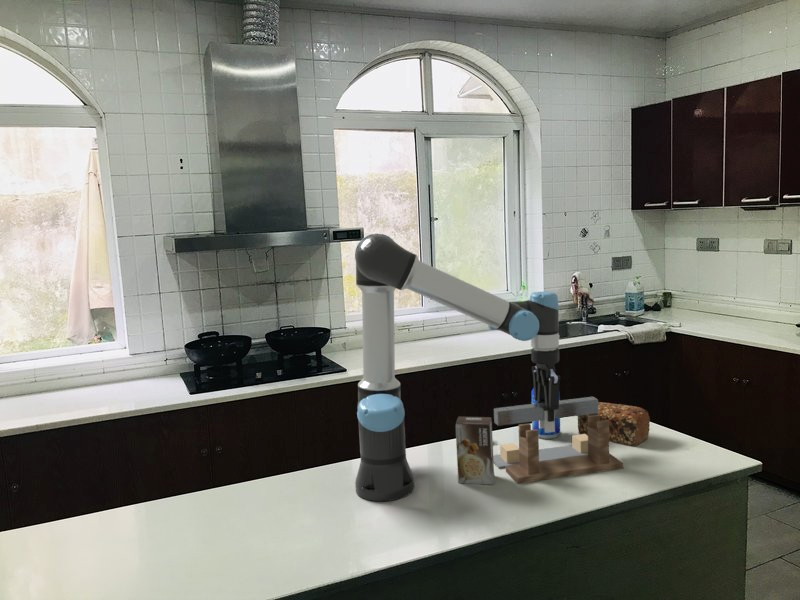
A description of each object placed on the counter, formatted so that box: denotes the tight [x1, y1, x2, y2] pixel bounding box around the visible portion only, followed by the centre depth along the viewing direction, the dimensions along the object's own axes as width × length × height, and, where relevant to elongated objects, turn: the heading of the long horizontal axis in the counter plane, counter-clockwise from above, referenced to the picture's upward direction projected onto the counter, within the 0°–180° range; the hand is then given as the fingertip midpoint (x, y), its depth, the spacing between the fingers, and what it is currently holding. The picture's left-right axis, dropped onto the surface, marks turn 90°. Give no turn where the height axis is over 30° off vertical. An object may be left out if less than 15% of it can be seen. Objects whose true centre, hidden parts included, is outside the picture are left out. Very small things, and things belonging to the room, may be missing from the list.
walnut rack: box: [505, 415, 624, 484], centre depth 170 cm, size 30×8×13 cm, turn 102°
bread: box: [577, 401, 651, 447], centre depth 193 cm, size 19×11×10 cm, turn 45°
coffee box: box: [455, 416, 496, 485], centre depth 167 cm, size 9×6×16 cm
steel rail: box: [493, 396, 599, 426], centre depth 179 cm, size 30×3×4 cm, turn 102°
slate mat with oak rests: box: [493, 434, 588, 469], centre depth 181 cm, size 32×8×4 cm, turn 102°
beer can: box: [530, 387, 561, 440], centre depth 196 cm, size 8×8×16 cm
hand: (546, 429), depth 180 cm, fingers closed on steel rail, 3 cm apart
